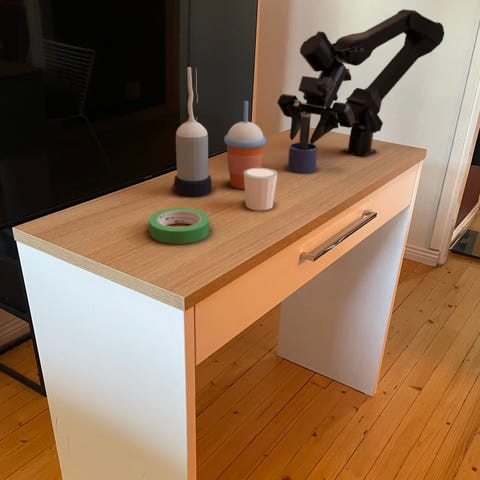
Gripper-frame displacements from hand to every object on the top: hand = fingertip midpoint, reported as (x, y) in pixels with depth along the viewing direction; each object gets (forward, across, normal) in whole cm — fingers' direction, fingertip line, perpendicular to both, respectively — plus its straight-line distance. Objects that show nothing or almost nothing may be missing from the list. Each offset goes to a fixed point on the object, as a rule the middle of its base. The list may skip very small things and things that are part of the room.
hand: (300, 140), depth 137 cm
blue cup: (+4, 0, +6) cm, 7 cm away
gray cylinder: (+4, 0, +6) cm, 7 cm away
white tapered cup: (+23, +6, -13) cm, 27 cm away
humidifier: (+24, -11, -14) cm, 30 cm away
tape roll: (+38, +2, -28) cm, 47 cm away
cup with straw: (+17, -4, -7) cm, 19 cm away
